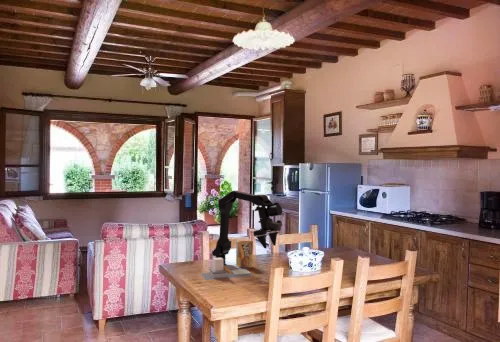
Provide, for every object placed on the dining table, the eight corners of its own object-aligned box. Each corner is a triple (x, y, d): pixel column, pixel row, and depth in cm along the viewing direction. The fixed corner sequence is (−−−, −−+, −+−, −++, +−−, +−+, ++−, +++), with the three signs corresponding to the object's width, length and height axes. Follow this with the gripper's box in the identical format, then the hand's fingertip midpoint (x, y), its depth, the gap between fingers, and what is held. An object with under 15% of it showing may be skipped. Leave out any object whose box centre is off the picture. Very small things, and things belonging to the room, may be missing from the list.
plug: (209, 274, 226) (209, 257, 226) (223, 273, 228) (223, 256, 228) (213, 278, 219) (213, 260, 219) (226, 277, 222) (226, 259, 221)
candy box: (250, 265, 250) (250, 239, 249) (252, 267, 246) (253, 240, 245) (235, 266, 247) (236, 240, 246) (238, 268, 243) (238, 241, 242)
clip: (218, 265, 231) (218, 262, 231) (221, 265, 232) (221, 262, 232) (228, 274, 214) (228, 271, 214) (231, 273, 214) (231, 271, 214)
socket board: (200, 275, 228) (200, 267, 228) (246, 271, 237) (246, 263, 237) (205, 282, 216) (205, 273, 216) (254, 277, 225) (254, 269, 225)
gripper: (268, 217, 218) (273, 248, 217) (286, 214, 234) (291, 242, 232) (250, 220, 225) (255, 250, 223) (269, 217, 240) (274, 244, 238)
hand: (270, 246), depth 229 cm, fingers open, 9 cm apart
